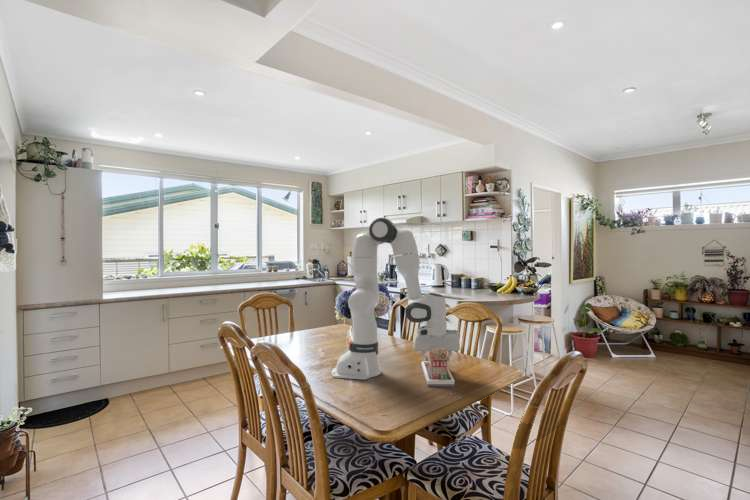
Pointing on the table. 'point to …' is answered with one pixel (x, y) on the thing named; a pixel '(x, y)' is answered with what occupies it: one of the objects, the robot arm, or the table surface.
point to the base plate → (437, 383)
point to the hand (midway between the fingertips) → (436, 360)
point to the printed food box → (438, 363)
